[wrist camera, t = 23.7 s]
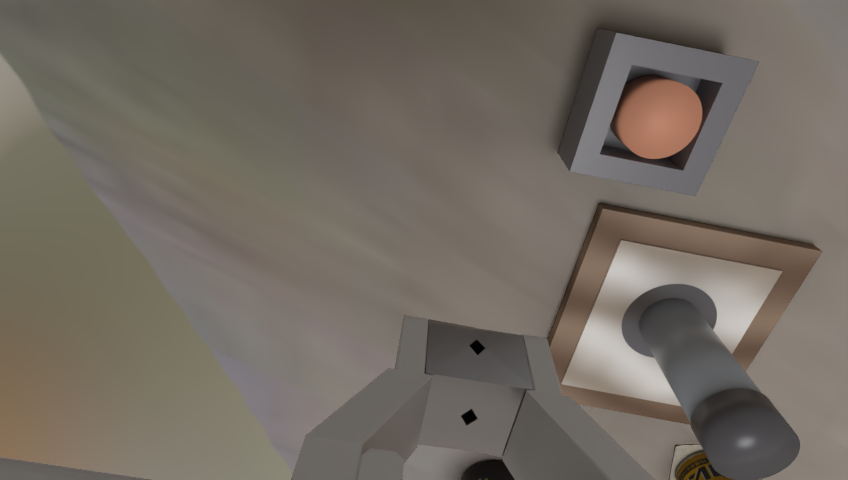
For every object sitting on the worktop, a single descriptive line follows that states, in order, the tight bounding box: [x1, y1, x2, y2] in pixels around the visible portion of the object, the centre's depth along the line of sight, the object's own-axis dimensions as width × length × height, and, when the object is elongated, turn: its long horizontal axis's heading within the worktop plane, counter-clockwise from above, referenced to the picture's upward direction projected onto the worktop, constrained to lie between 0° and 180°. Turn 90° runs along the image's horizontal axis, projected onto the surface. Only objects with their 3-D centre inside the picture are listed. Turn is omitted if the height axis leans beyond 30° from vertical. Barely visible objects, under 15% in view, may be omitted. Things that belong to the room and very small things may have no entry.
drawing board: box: [547, 203, 823, 425], centre depth 38 cm, size 18×16×1 cm
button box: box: [558, 28, 759, 196], centre depth 30 cm, size 8×8×4 cm
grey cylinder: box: [639, 298, 800, 480], centre depth 32 cm, size 5×5×12 cm
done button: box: [610, 75, 702, 159], centre depth 29 cm, size 4×4×3 cm
